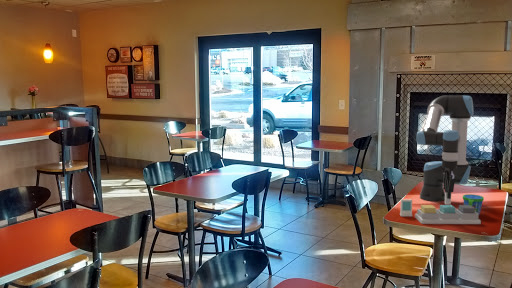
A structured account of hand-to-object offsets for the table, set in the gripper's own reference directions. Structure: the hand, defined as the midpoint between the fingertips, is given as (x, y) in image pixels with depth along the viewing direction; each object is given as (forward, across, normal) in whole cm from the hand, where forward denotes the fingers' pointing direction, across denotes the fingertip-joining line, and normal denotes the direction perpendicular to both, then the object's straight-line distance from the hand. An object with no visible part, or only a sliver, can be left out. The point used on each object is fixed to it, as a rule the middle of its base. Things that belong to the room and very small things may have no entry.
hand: (447, 204), depth 248 cm
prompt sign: (+9, -9, -19) cm, 23 cm away
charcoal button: (+5, 0, +10) cm, 11 cm away
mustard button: (+5, 0, -10) cm, 11 cm away
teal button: (+5, 0, 0) cm, 5 cm away
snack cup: (+9, -12, +18) cm, 24 cm away
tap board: (+9, 0, 0) cm, 9 cm away
